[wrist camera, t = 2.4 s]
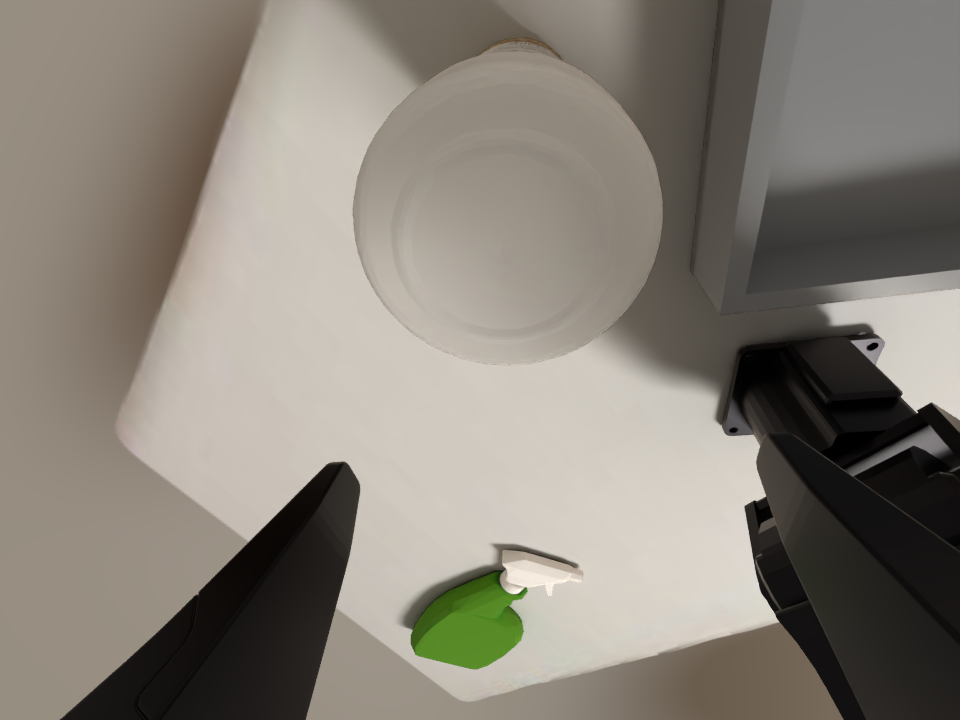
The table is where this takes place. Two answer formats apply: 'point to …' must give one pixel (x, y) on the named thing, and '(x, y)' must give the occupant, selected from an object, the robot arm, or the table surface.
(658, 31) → the table surface
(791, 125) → the tote
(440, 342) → the sprinkles bottle
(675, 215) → the table surface
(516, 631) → the spray bottle
